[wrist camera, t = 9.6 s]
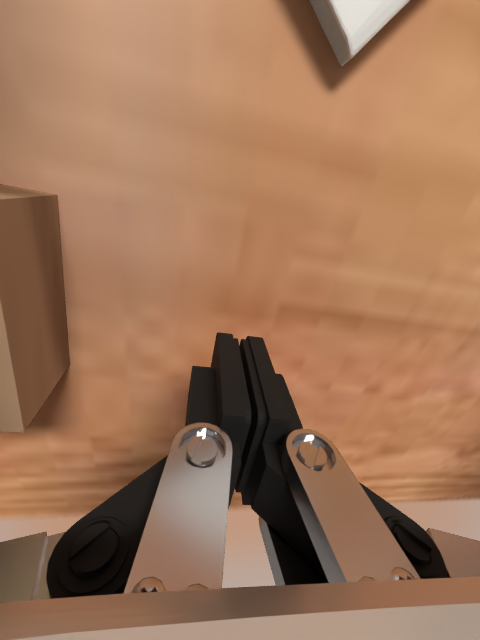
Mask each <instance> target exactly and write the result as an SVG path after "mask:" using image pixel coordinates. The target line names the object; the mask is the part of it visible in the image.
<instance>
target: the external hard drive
mask: <svg viewBox="0 0 480 640" xmlns="http://www.w3.org/2000/svg"><path fill="white" fill-rule="evenodd" d="M309 1H310V3H311V5H312V8H313V10H314V12H315V14H316V16H317V18H318V20H319V22H320V24H321V26H322V28H323V31H324V33H325V35H326V37H327V39H328V41H329V43H330V45H331V47H332V49H333V52H334V54H335V56H336V58H337V60H338V62H339V64H340V66H343V65H344V64H345V63H346V62H348V61H349V60H350V59H351V58H353V57H354V56H355V55H356V54H357V53H358V52H359V51H360V50H361V49H362V48H363V47H364V46H365V45H366V44H367V43H368V42H369V41H370V40H371V39H372V38H373V37H374V36H375V35H376V34H377V33H378V32H379V31H380V30H381V29H382V28H383V27H384V26H385V25H386V24H387V23H388V22H389V21H390V20H391V19H392V18H393V17H394V16H395V15H396V14H397V13H398V12H399V11H400V10H401V9H402V8H403V7H404V6H405V5H406V4H407V3H408V2H409V1H410V0H309Z"/></svg>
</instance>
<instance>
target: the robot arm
mask: <svg viewBox="0 0 480 640" xmlns="http://www.w3.org/2000/svg"><path fill="white" fill-rule="evenodd" d="M234 488H235V490H236V492H241V494H242V503H243V505H251V508H252V509H253V510H254V511H255V512H256V513H257V514H258V515H259V525H260V530H261V534H262V537H263V541H264V545H265V548H266V552H267V555H268V559H269V562H270V566H271V570H272V573H273V577H274V580H275V584H276V586H260V587H241V588H222V578H223V565H224V553H225V540H226V528H227V515H228V509H229V506H230V502H231V499H232V495H233V492H234ZM0 640H480V541H477V540H473V539H469V538H465V537H461V536H458V535H454V534H450V533H446V532H442V531H438V530H435V529H430V528H428V529H427V530H426V531H425V530H424V529H423V528H421V527H420V526H419V525H418V524H417V523H415V522H414V521H413V520H412V519H410V518H409V517H407V516H406V515H405V514H403V513H401V512H400V511H399V510H397V509H396V508H395V507H393V506H392V505H391V504H389V503H388V502H386V501H385V500H384V499H382V498H381V497H379V496H378V495H377V494H375V493H374V492H372V491H371V490H370V489H368V488H367V487H365V486H364V485H363V484H361V483H360V482H358V480H357V478H356V477H355V475H354V474H353V472H352V471H351V469H350V468H349V466H348V464H347V463H346V461H345V460H344V458H343V457H342V455H341V454H340V452H339V450H338V449H337V448H336V446H335V445H334V444H333V443H332V441H330V440H329V439H328V438H327V437H325V436H324V435H322V434H320V433H319V432H317V431H313V430H310V429H303V427H302V424H301V421H300V419H299V416H298V414H297V411H296V408H295V406H294V403H293V401H292V398H291V396H290V393H289V390H288V388H287V385H286V383H285V380H284V378H283V376H282V375H281V374H275V371H274V368H273V366H272V363H271V360H270V357H269V354H268V351H267V349H266V346H265V343H264V340H263V338H260V337H252V336H247V338H246V340H244V339H242V340H241V342H240V346H239V343H238V339H236V338H233V335H232V334H226V333H218V332H217V335H216V340H215V346H214V352H213V357H212V363H211V368H210V367H200V366H193V367H192V373H191V380H190V387H189V395H188V404H187V414H186V424H185V427H184V428H182V429H181V430H180V431H179V432H178V433H177V434H176V436H175V438H174V440H173V442H172V445H171V448H170V451H169V454H168V456H166V457H165V458H163V459H162V460H161V461H159V462H158V463H157V464H155V465H154V466H153V467H151V468H150V469H148V470H147V471H146V472H144V473H143V474H142V475H140V476H139V477H138V478H136V479H135V480H133V481H132V482H131V483H129V484H128V485H127V486H125V487H124V488H123V489H121V490H120V491H118V492H117V493H116V494H114V495H113V496H112V497H110V498H109V499H107V500H106V501H105V502H103V503H102V504H101V505H99V506H98V507H97V508H95V509H94V510H92V511H91V512H90V513H88V514H87V515H86V516H84V517H83V518H82V519H80V520H79V521H77V522H76V523H75V524H74V525H73V526H72V527H71V528H70V529H69V530H67V532H63V533H59V534H55V535H51V536H47V533H46V532H42V533H38V534H34V535H30V536H26V537H21V538H17V539H12V540H8V541H4V542H0Z"/></svg>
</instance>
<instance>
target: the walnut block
mask: <svg viewBox="0 0 480 640" xmlns="http://www.w3.org/2000/svg"><path fill="white" fill-rule="evenodd" d="M69 365H70V358H69V345H68V331H67V318H66V305H65V291H64V278H63V264H62V251H61V238H60V224H59V211H58V197H57V195H56V194H50V193H45V192H40V191H34V190H29V189H23V188H18V187H13V186H7V185H2V184H0V432H25V430H26V429H27V427H28V426H29V424H30V423H31V421H32V420H33V418H34V417H35V415H36V414H37V412H38V411H39V409H40V408H41V407H42V405H43V404H44V402H45V401H46V399H47V398H48V396H49V395H50V393H51V392H52V390H53V389H54V387H55V386H56V384H57V383H58V381H59V380H60V378H61V377H62V376H63V374H64V373H65V371H66V370H67V368H68V367H69Z"/></svg>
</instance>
